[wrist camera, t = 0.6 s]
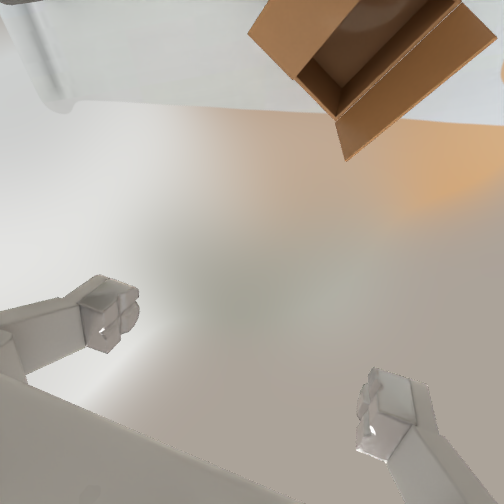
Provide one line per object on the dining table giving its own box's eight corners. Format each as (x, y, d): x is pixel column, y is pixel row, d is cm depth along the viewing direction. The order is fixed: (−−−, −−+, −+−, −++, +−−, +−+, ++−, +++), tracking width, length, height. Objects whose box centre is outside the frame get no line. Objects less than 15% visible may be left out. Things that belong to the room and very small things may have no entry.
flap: (496, 36, 24) (497, 38, 24) (462, 2, 28) (463, 4, 28) (344, 160, 34) (346, 161, 34) (334, 122, 38) (336, 124, 38)
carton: (362, -120, 33) (359, -143, 24) (442, -11, 37) (463, 2, 28) (271, 16, 43) (246, 33, 34) (341, 91, 46) (335, 123, 38)
